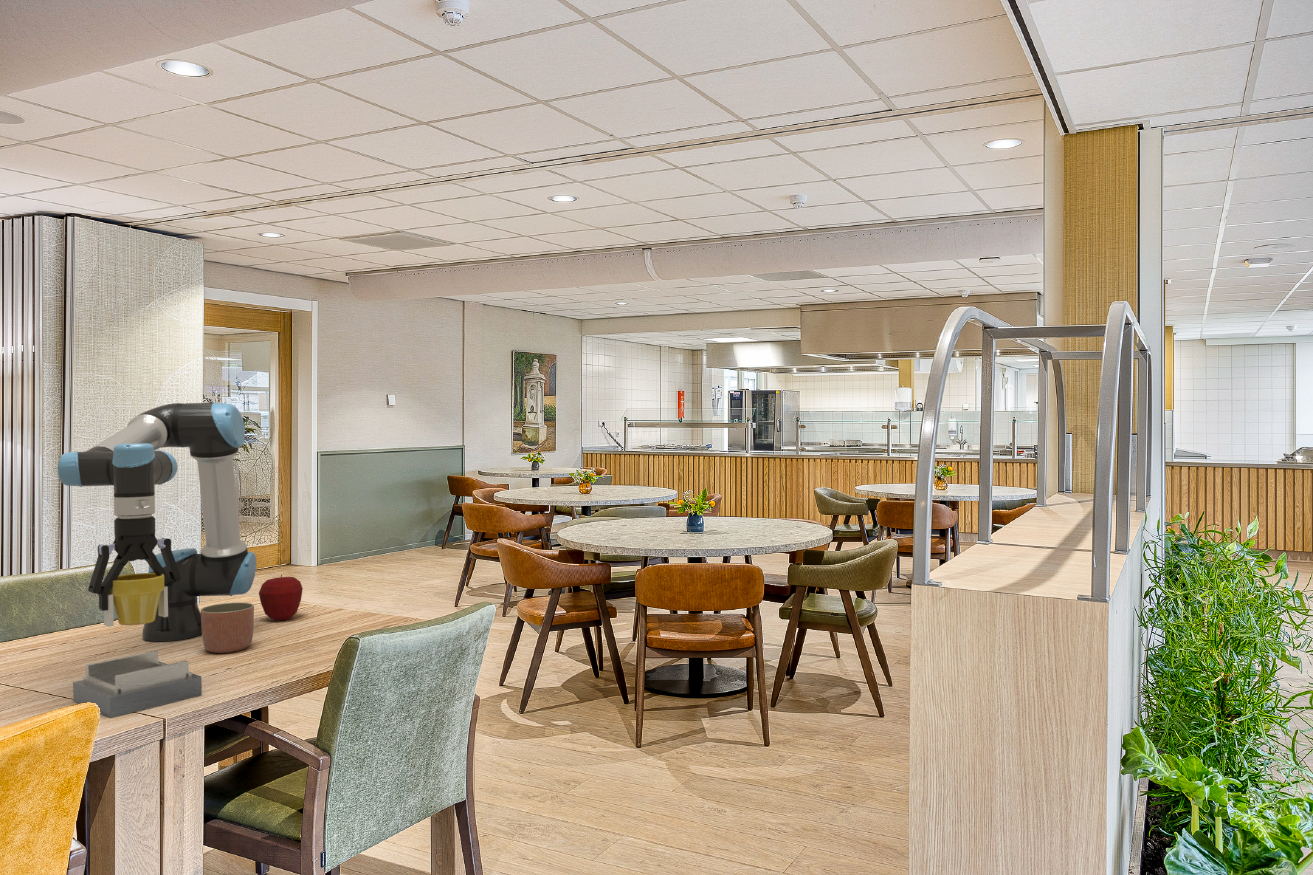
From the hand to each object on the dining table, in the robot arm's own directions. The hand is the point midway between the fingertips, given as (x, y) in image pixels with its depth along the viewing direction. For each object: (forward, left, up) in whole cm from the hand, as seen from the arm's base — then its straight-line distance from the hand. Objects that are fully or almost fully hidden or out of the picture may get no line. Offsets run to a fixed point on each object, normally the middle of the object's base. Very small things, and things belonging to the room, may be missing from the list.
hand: (136, 620), depth 190 cm
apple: (-45, +59, -17) cm, 76 cm away
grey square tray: (0, 0, -17) cm, 17 cm away
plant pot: (0, 0, 0) cm, 0 cm away
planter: (-24, +32, -17) cm, 43 cm away
